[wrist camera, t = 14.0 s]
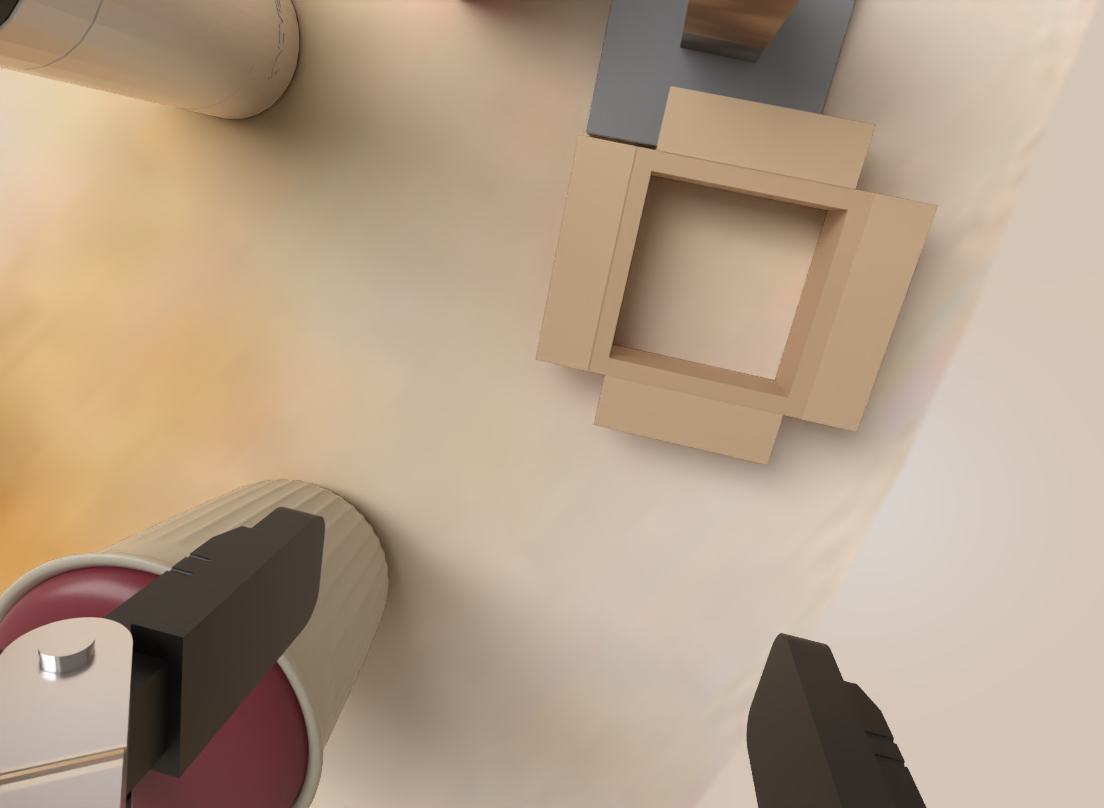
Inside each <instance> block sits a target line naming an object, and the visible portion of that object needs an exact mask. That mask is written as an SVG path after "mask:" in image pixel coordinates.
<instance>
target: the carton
mask: <svg viewBox="0 0 1104 808" xmlns="http://www.w3.org/2000/svg"><path fill="white" fill-rule="evenodd" d="M875 126H876V125H875V124H869V123H864V122H859V121H853V120H848V119H843V118H838V117H832V116H827V115H822V114H816V113H811V112H806V111H800V110H795V109H790V108H784V107H779V106H774V105H769V104H763V103H758V102H753V101H747V100H742V99H737V98H731V97H726V96H721V95H716V94H710V93H705V92H700V91H694V90H689V89H684V88H678V87H673V86H670V91H669V95H668V100H667V104H666V108H665V113H664V117H663V122H662V126H661V130H660V135H659V139H658V144H657V148H656V150H652V149H647V148H642V147H637V146H633V145H628V144H622V143H617V142H612V141H607V140H602V139H597V138H592V137H587V136H582V135H579V137H578V142H577V147H576V153H575V158H574V163H573V168H572V173H571V179H570V184H569V189H568V194H567V199H566V205H565V210H564V215H563V220H562V225H561V230H560V236H559V241H558V246H557V251H556V256H555V262H554V267H553V272H552V277H551V282H550V288H549V293H548V298H547V303H546V308H545V314H544V319H543V324H542V329H541V334H540V340H539V345H538V350H537V355H536V360H540V361H544V362H549V363H553V364H558V365H562V366H566V367H571V368H575V369H580V370H584V371H590V372H594V373H598V374H603V375H605V377H604V381H603V386H602V390H601V394H600V399H599V403H598V408H597V412H596V416H595V421H594V425H597V426H601V427H606V428H610V429H614V430H618V431H623V432H627V433H631V434H636V435H640V436H644V437H649V438H653V439H657V440H662V441H666V442H670V443H675V444H679V445H683V446H687V447H692V448H696V449H700V450H705V451H709V452H713V453H718V454H722V455H726V456H731V457H735V458H739V459H744V460H748V461H752V462H757V463H761V464H765V465H768V462H769V458H770V455H771V452H772V449H773V446H774V443H775V440H776V436H777V433H778V430H779V427H780V424H781V421H782V418H783V415H785V416H789V417H794V418H798V419H802V420H806V421H810V422H815V423H819V424H824V425H828V426H833V427H837V428H842V429H846V430H850V431H855V432H857V430H858V427H859V424H860V422H861V419H862V416H863V413H864V410H865V408H866V405H867V402H868V399H869V396H870V394H871V391H872V388H873V385H874V382H875V380H876V377H877V374H878V371H879V368H880V366H881V363H882V360H883V357H884V354H885V352H886V349H887V346H888V343H889V340H890V338H891V335H892V332H893V329H894V326H895V324H896V321H897V318H898V315H899V313H900V310H901V307H902V304H903V301H904V299H905V296H906V293H907V290H908V287H909V285H910V282H911V279H912V276H913V273H914V271H915V268H916V265H917V262H918V259H919V257H920V254H921V251H922V248H923V245H924V243H925V240H926V237H927V234H928V231H929V229H930V226H931V223H932V220H933V218H934V215H935V212H936V209H937V206H938V205H933V204H928V203H922V202H917V201H912V200H907V199H902V198H897V197H892V196H887V195H882V194H877V193H871V192H866V191H861V190H856V186H857V183H858V179H859V176H860V173H861V170H862V167H863V164H864V161H865V157H866V154H867V151H868V148H869V145H870V142H871V139H872V136H873V132H874V129H875ZM651 175H652V176H657V177H662V178H667V179H672V180H677V181H682V182H687V183H692V184H697V185H702V186H707V187H712V188H717V189H722V190H727V191H732V192H737V193H742V194H747V195H752V196H757V197H762V198H767V199H772V200H777V201H782V202H787V203H792V204H797V205H802V206H807V207H812V208H817V209H822V210H827V214H826V217H825V220H824V224H823V227H822V230H821V233H820V237H819V240H818V243H817V246H816V250H815V253H814V256H813V259H812V262H811V266H810V269H809V272H808V275H807V279H806V282H805V285H804V288H803V292H802V295H801V298H800V301H799V304H798V308H797V311H796V314H795V317H794V321H793V324H792V327H791V330H790V334H789V337H788V340H787V343H786V346H785V350H784V353H783V356H782V359H781V363H780V366H779V369H778V372H777V375H776V379H775V380H771V379H767V378H762V377H758V376H753V375H749V374H744V373H740V372H735V371H730V370H726V369H721V368H717V367H712V366H708V365H703V364H699V363H694V362H690V361H685V360H681V359H676V358H672V357H667V356H663V355H658V354H654V353H649V352H645V351H640V350H636V349H631V348H627V347H622V346H618V345H613V340H614V336H615V331H616V327H617V323H618V318H619V314H620V309H621V305H622V301H623V296H624V292H625V287H626V283H627V279H628V274H629V270H630V265H631V261H632V257H633V252H634V248H635V244H636V239H637V235H638V230H639V226H640V222H641V217H642V213H643V208H644V204H645V200H646V195H647V191H648V186H649V182H650V178H651Z"/></svg>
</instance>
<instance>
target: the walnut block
mask: <svg viewBox="0 0 1104 808" xmlns="http://www.w3.org/2000/svg"><path fill="white" fill-rule="evenodd" d="M798 2H799V0H689V2H688V7H687V12H686V18H685V23H684V28H683V34H682V39H681V44H680V47H681V48H686V49H691V50H695V51H700V52H705V53H710V54H715V55H719V56H724V57H729V58H734V59H738V60H743V61H748V62H753V63H756V61H757V60H758V58H759V57H760V56H761V54H762V53H763V51H764V50H765V49H766V47H767V46H768V44H769V43H770V41H771V40H772V39H773V37H774V36H775V34H776V33H777V32H778V30H779V29H780V27H781V26H782V24H783V23H784V22H785V20H786V19H787V17H788V16H789V14H790V13H791V12H792V10H793V9H794V7H795V6H796V5H797V3H798Z"/></svg>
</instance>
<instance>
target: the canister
mask: <svg viewBox="0 0 1104 808" xmlns="http://www.w3.org/2000/svg"><path fill="white" fill-rule="evenodd" d="M278 507H287V508H291V509H295V510H299V511H303V512H307V513H311V514H314V515H318V516H322V517H323V518H324V521H325V537H324V547H323V557H322V567H321V577H320V587H319V594H318V599H317V603H316V606H315V609H314V611H313V614H312V616H311V618H310V620H309V622H308V623H307V625H306V626H305V628H304V629H303V630H302V631H301V633H300V634H299V635H298V636H297V637H296V639H295V640H294V641H293V642H292V644H291V645H290V646H289V647H288V648H287V650H286V651H285V652H284V653H283V654H282V656H281V657H280V658H279V659H278V660H277V662H276V663H275V664H274V665H273V666H272V668H271V669H270V670H269V671H268V672H267V674H266V675H265V676H264V677H263V678H262V680H261V681H260V682H259V683H258V684H257V686H256V687H255V688H254V689H253V690H252V692H251V693H250V694H249V695H248V696H247V698H246V699H245V700H244V701H243V702H242V704H241V705H240V706H239V707H238V708H237V710H236V711H235V712H234V713H233V714H232V716H231V717H230V718H229V719H228V720H227V722H226V723H225V724H224V725H223V726H222V728H221V729H220V730H219V731H218V732H217V734H216V735H215V736H214V737H213V738H212V740H211V741H210V742H209V743H208V744H207V746H206V747H205V748H204V749H203V750H202V752H201V753H200V754H199V755H198V756H197V758H196V759H195V760H194V761H193V762H192V764H191V765H190V766H189V767H188V768H187V770H186V771H185V772H184V773H183V774H182V776H181V777H180V778H176V777H172V776H169V775H165V774H162V773H159V772H155V771H152V770H149V771H148V772H147V773H146V774H145V776H144V777H143V778H142V779H141V780H140V781H139V782H138V783H137V784H136V786H135V787H134V788H133V804H132V808H309V807H310V805H311V803H312V801H313V799H314V796H315V794H316V791H317V788H318V785H319V781H320V777H321V772H322V764H323V750H324V747H325V745H326V743H327V741H328V739H329V737H330V735H331V733H332V731H333V728H334V726H335V724H336V722H337V719H338V717H339V715H340V713H341V711H342V708H343V706H344V704H345V702H346V700H347V697H348V695H349V693H350V691H351V689H352V687H353V685H354V682H355V680H356V678H357V676H358V673H359V671H360V669H361V667H362V664H363V662H364V660H365V658H366V655H367V653H368V650H369V648H370V646H371V643H372V641H373V638H374V636H375V634H376V631H377V629H378V626H379V624H380V621H381V618H382V615H383V611H384V608H385V605H386V601H387V590H388V586H389V579H388V576H387V574H388V565H387V563H386V561H385V552H384V550H383V549H382V547H381V545H380V539H379V538H378V537H377V536H376V535H375V533H374V531H373V527H372V526H371V525H370V524H369V523H368V522H367V521H366V520H365V518H364V515H362V514H360V513H359V512H358V511H357V510H356V509H355V508H354V506H353V505H351V504H349V503H348V502H346V501H345V500H344V499H343V498H342V497H341V496H337V495H335V494H333V493H332V492H331V491H330V490H328V489H323V488H320V487H318V486H317V485H315V484H307V483H304V482H302V481H289V480H284V479H281V480H276V481H269V480H268V481H262V482H258V483H256V484H250V485H246V486H243V487H240V488H238V489H235V490H233V491H230V492H228V493H226V494H223V495H221V496H219V497H216V498H214V499H212V500H209V501H207V502H205V503H202V504H200V505H198V506H196V507H193V508H191V509H189V510H187V511H185V512H182V513H180V514H178V515H176V516H174V517H172V518H169V519H167V520H165V521H163V522H161V523H159V524H156V525H154V526H152V527H150V528H148V529H146V530H144V531H142V532H139V533H137V534H135V535H133V536H131V537H129V538H127V539H124V540H122V541H120V542H118V543H116V544H113V545H111V546H109V547H107V548H105V549H103V550H100V551H98V552H90V553H81V554H74V555H69V556H65V557H61V558H57V559H54V560H52V561H49V562H46V563H44V564H42V565H40V566H38V567H36V568H34V569H32V570H31V571H29V572H27V573H26V574H24V575H23V576H21V577H20V578H19V579H17V580H16V581H15V582H14V583H13V584H12V585H11V586H10V587H9V588H8V589H7V590H6V591H5V592H4V593H3V594H2V595H1V597H0V650H5V648H7V647H8V646H9V645H10V644H11V643H12V642H13V641H15V640H16V639H18V638H19V637H21V636H22V635H24V634H26V633H28V632H30V631H32V630H34V629H36V628H39V627H41V626H44V625H47V624H50V623H53V622H57V621H61V620H66V619H72V618H83V617H95V618H103V617H105V616H106V615H108V614H109V613H110V612H112V611H113V610H114V609H116V608H117V607H118V606H120V605H121V604H122V603H124V602H125V601H126V600H128V599H129V598H131V597H132V596H133V595H135V594H136V593H137V592H139V591H140V590H141V589H143V588H144V587H145V586H147V585H148V584H149V583H151V582H152V581H154V580H155V579H156V578H158V577H159V576H160V575H162V574H163V573H164V572H166V571H170V570H171V569H172V566H174V565H175V564H177V563H178V562H179V561H181V560H182V559H183V558H185V557H189V556H190V553H191V552H193V551H194V550H195V549H197V548H198V547H200V546H201V545H202V544H204V543H205V542H206V541H208V540H209V539H210V538H212V537H214V536H217V535H219V534H222V533H225V532H227V531H230V530H233V529H235V528H238V527H241V526H244V527H248V528H252V527H253V526H255V525H256V524H257V523H258V522H260V521H261V520H262V519H263V518H265V517H266V516H267V515H268V514H270V513H271V512H272V511H274V510H275V509H276V508H278Z"/></svg>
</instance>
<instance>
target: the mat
mask: <svg viewBox="0 0 1104 808" xmlns="http://www.w3.org/2000/svg"><path fill="white" fill-rule="evenodd" d="M688 2H689V0H612V3H611V8H610V13H609V18H608V23H607V29H606V34H605V39H604V44H603V49H602V54H601V59H600V64H599V69H598V75H597V80H596V85H595V90H594V95H593V100H592V105H591V110H590V115H589V121H588V126H587V131H586V132H587V133H588V134H591V135H596V136H601V137H606V138H611V139H616V140H622V141H627V142H632V143H637V144H642V145H647V146H652V147H657V144H658V139H659V135H660V130H661V126H662V122H663V117H664V113H665V108H666V104H667V100H668V95H669V91H670V86H673V87H678V88H684V89H689V90H694V91H700V92H705V93H710V94H716V95H721V96H726V97H731V98H737V99H742V100H747V101H753V102H758V103H763V104H769V105H774V106H779V107H784V108H790V109H795V110H800V111H806V112H811V113H816V114H822V111H823V108H824V104H825V101H826V98H827V94H828V91H829V88H830V84H831V81H832V77H833V74H834V71H835V67H836V64H837V60H838V57H839V54H840V50H841V47H842V43H843V40H844V37H845V33H846V30H847V26H848V23H849V20H850V16H851V13H852V9H853V6H854V3H855V0H799V2H798V3H797V5H796V6H795V7H794V9H793V10H792V12H791V13H790V14H789V16H788V17H787V19H786V20H785V22H784V23H783V24H782V26H781V27H780V29H779V30H778V32H777V33H776V34H775V36H774V37H773V39H772V40H771V41H770V43H769V44H768V46H767V47H766V49H765V50H764V51H763V53H762V54H761V56H760V57H759V58H758V60H757V61H756V63H753V62H748V61H743V60H738V59H734V58H729V57H724V56H719V55H715V54H710V53H705V52H700V51H695V50H691V49H686V48H681V47H680V44H681V39H682V34H683V28H684V23H685V18H686V12H687V7H688Z"/></svg>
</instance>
